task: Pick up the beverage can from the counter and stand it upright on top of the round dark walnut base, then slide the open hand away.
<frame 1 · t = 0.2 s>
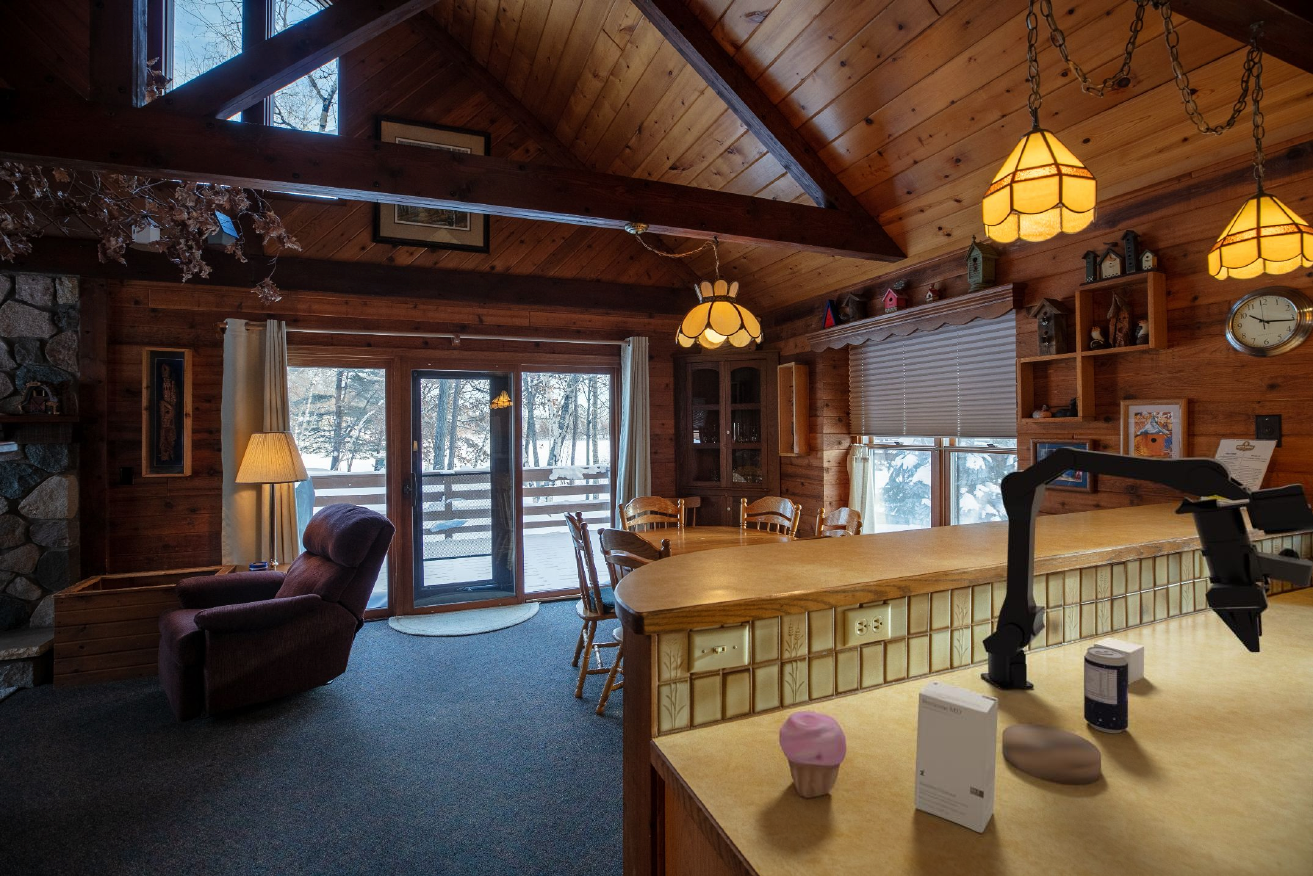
hand: (1256, 643, 93), 15 cm above the counter, tool pointing down, fingers open, 9 cm apart
walnut base: (1049, 760, 90), on the counter
skincare box: (956, 812, 79), on the counter
cupcake: (813, 790, 84), on the counter
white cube: (1118, 676, 120), on the counter
beverage can: (1105, 728, 100), on the counter
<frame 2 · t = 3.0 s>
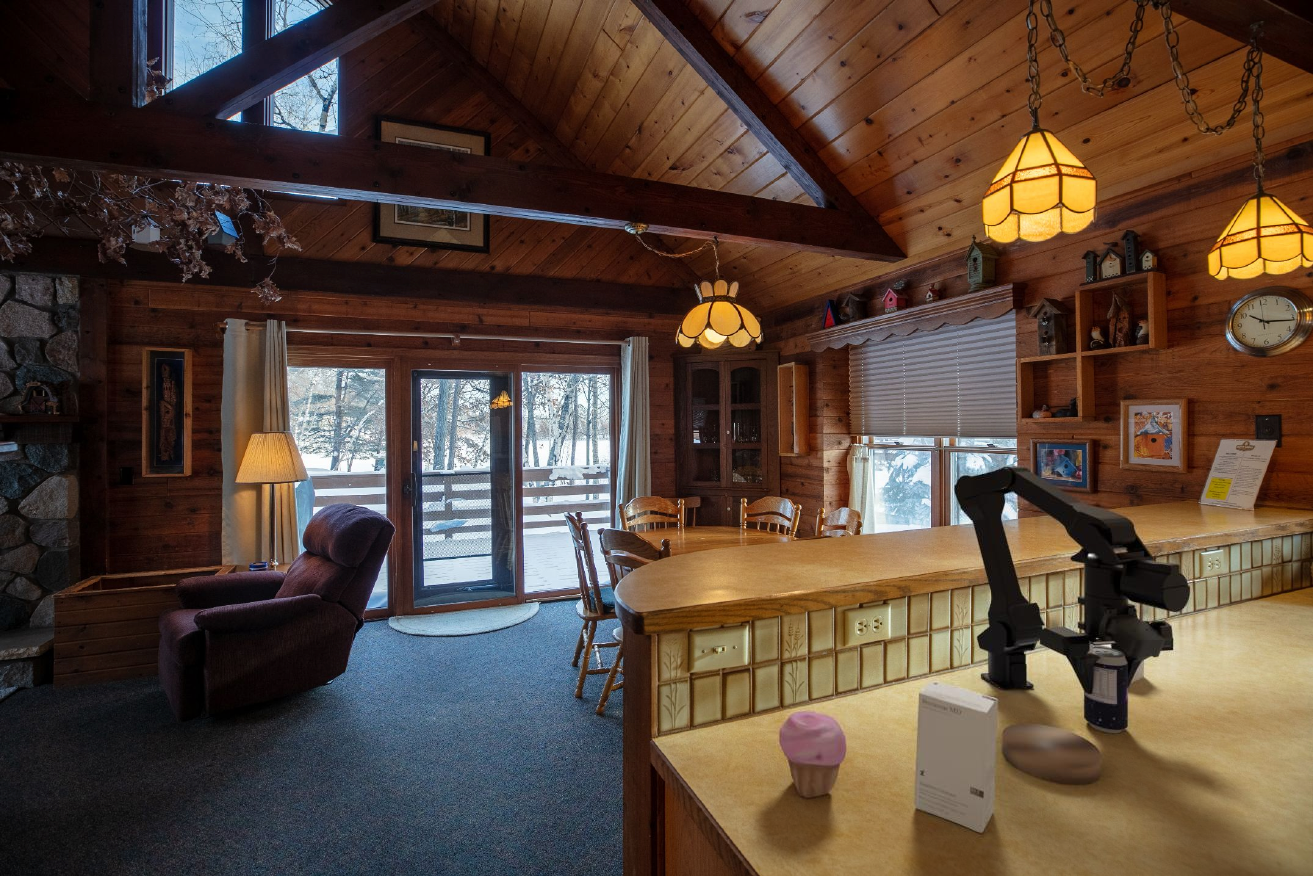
hand: (1105, 692, 100), 6 cm above the counter, tool pointing down, fingers closed on beverage can, 6 cm apart
beverage can: (1105, 728, 100), on the counter, touching gripper
everything else where it was.
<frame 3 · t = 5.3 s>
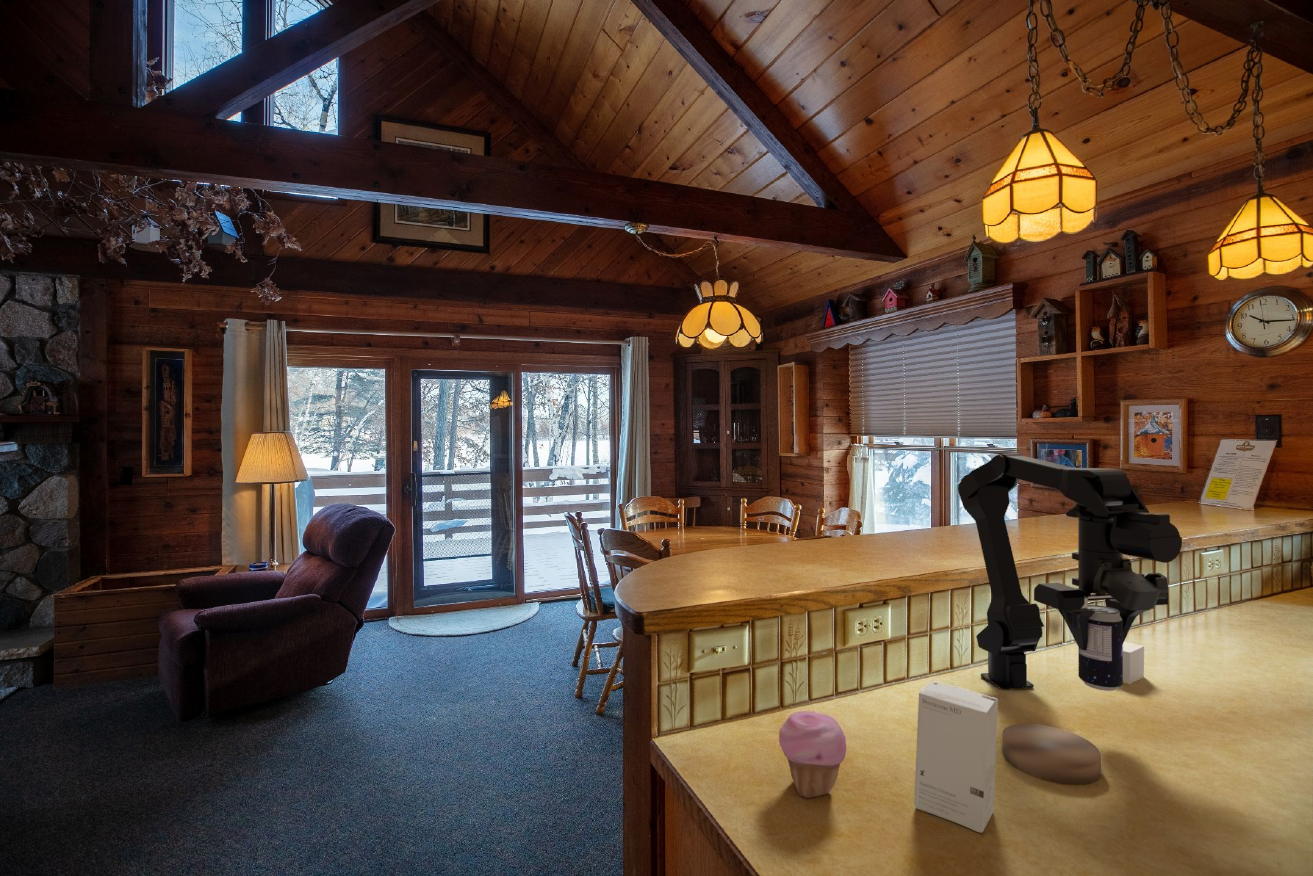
hand: (1100, 648, 99), 13 cm above the counter, tool pointing down, fingers closed on beverage can, 6 cm apart
beverage can: (1100, 686, 99), point 7 cm above the counter, touching gripper
everything else where it was.
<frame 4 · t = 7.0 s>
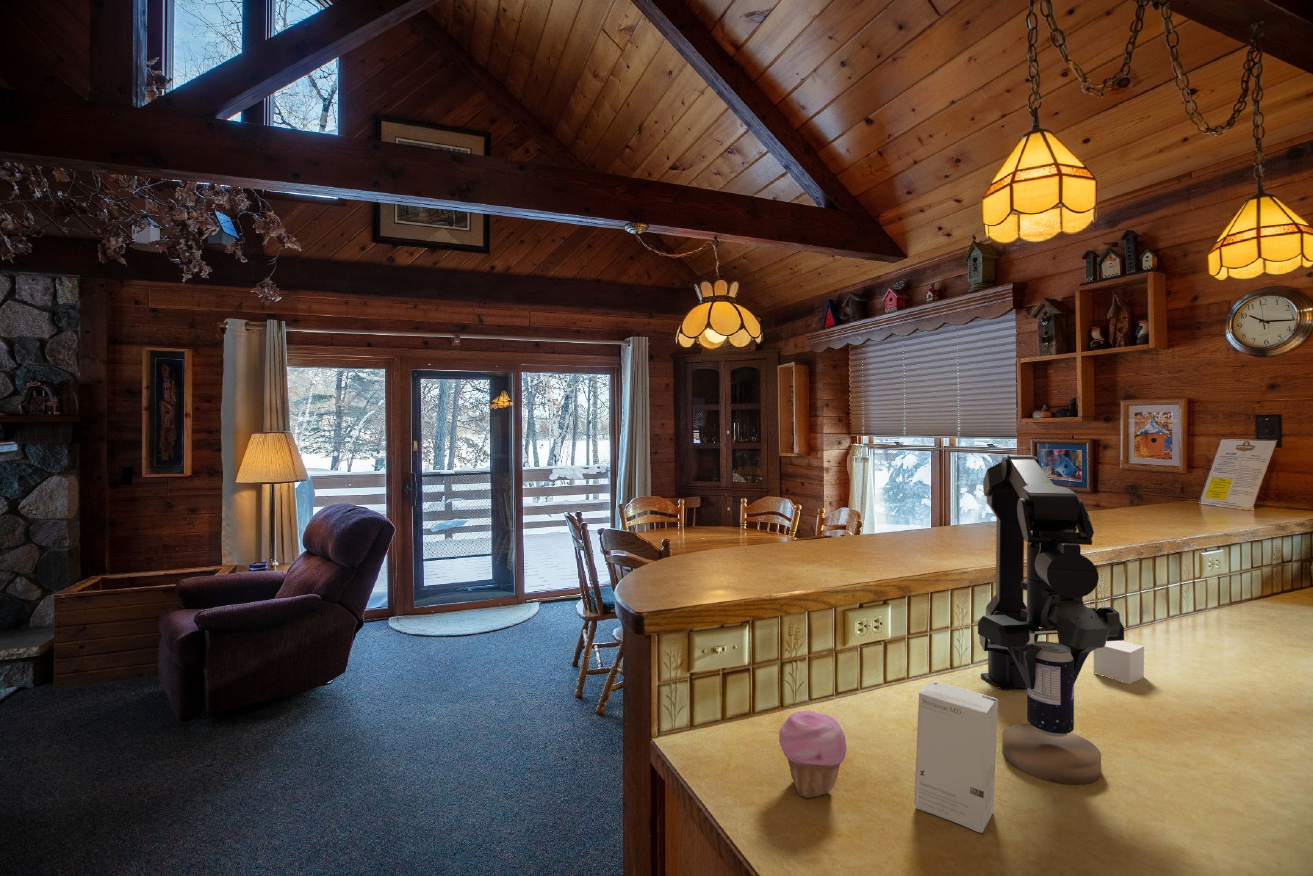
hand: (1049, 687, 90), 11 cm above the counter, tool pointing down, fingers closed on beverage can, 6 cm apart
beverage can: (1050, 731, 90), point 4 cm above the counter, touching gripper
everything else where it was.
when the fingers open (9 cm above the counter, at t = 8.1 s): beverage can stays where it is, resting on walnut base.
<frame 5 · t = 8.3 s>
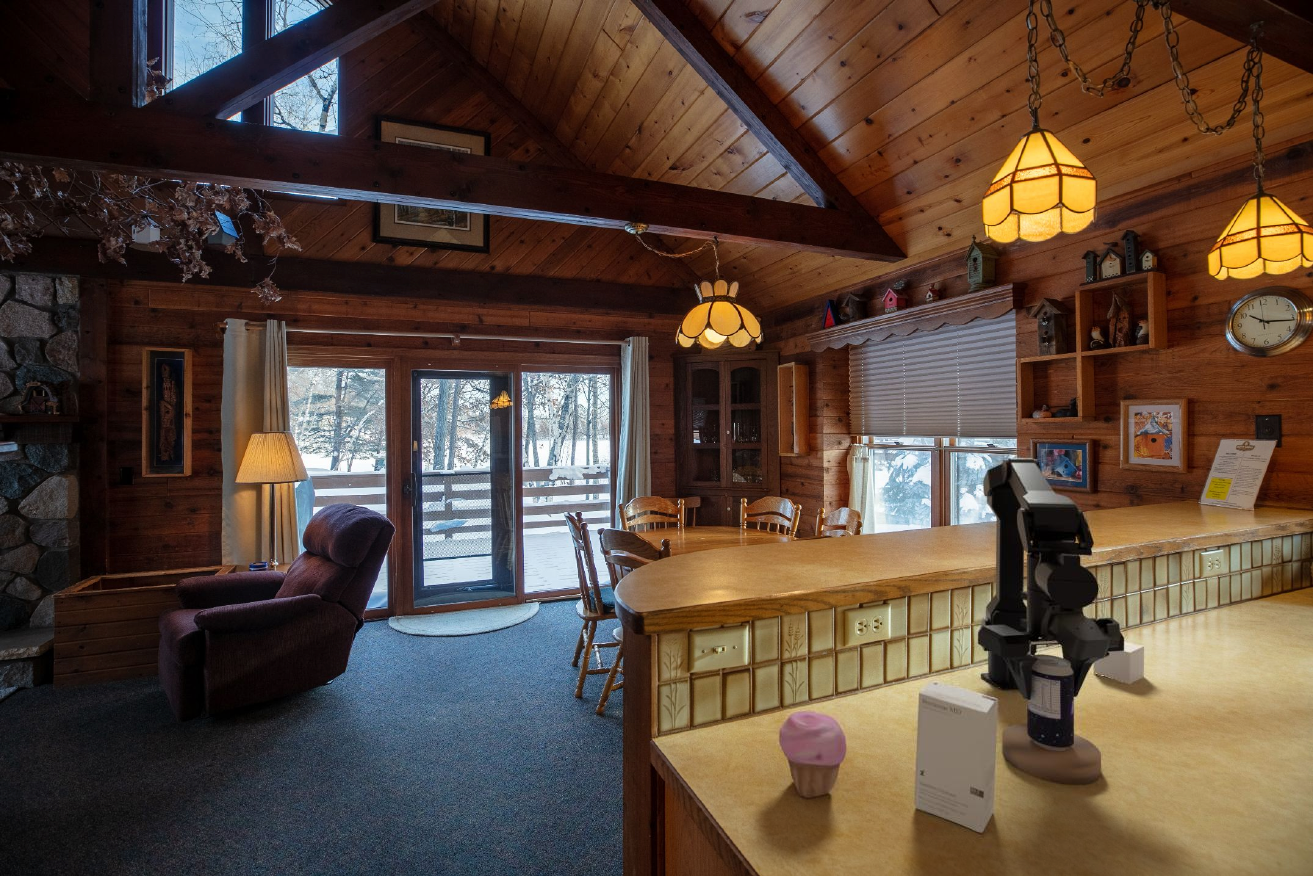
hand: (1049, 697, 90), 9 cm above the counter, tool pointing down, fingers open, 7 cm apart
beverage can: (1050, 745, 90), point 2 cm above the counter, touching walnut base
everything else where it was.
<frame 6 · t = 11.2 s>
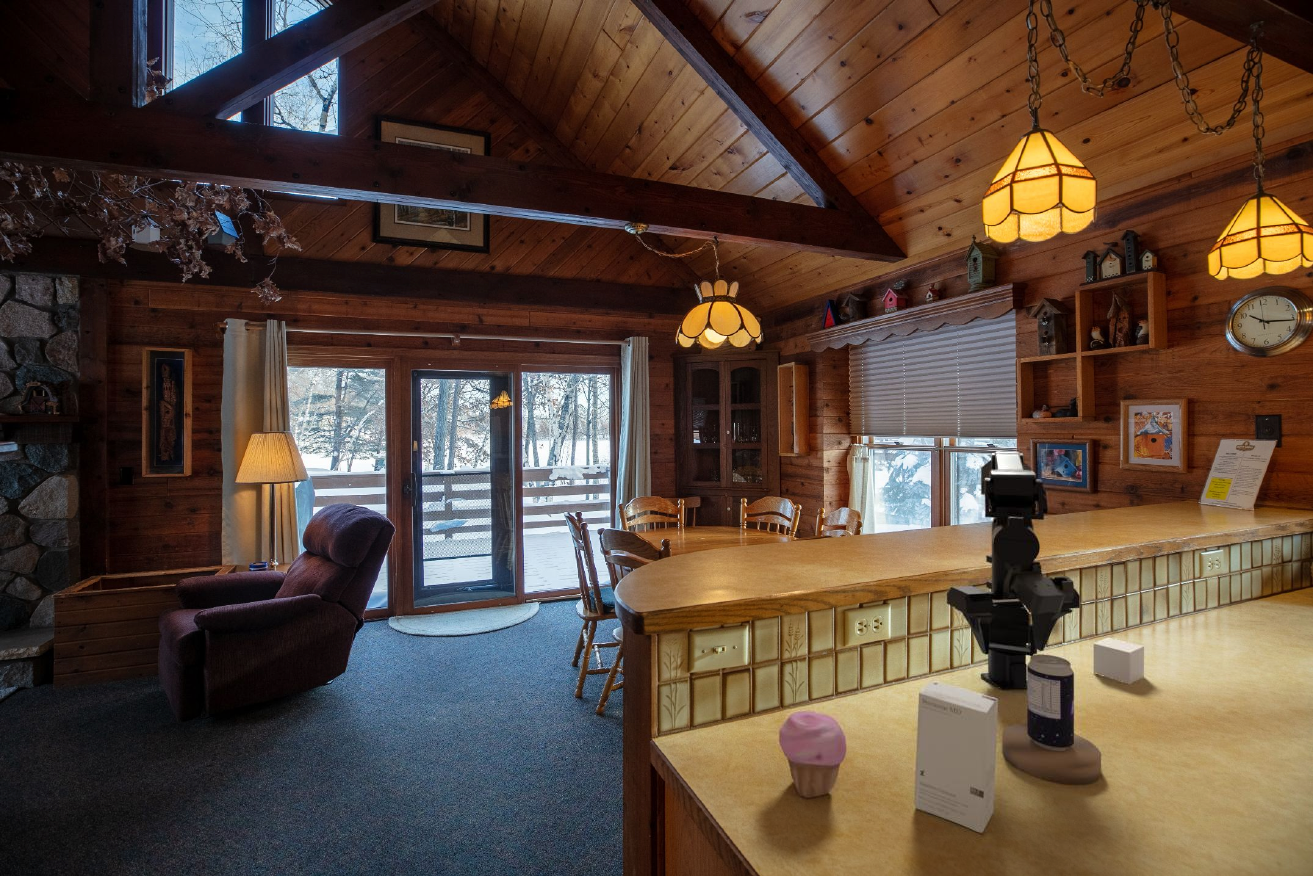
hand: (1012, 652, 98), 13 cm above the counter, tool pointing down, fingers open, 9 cm apart
nothing on the counter moved.
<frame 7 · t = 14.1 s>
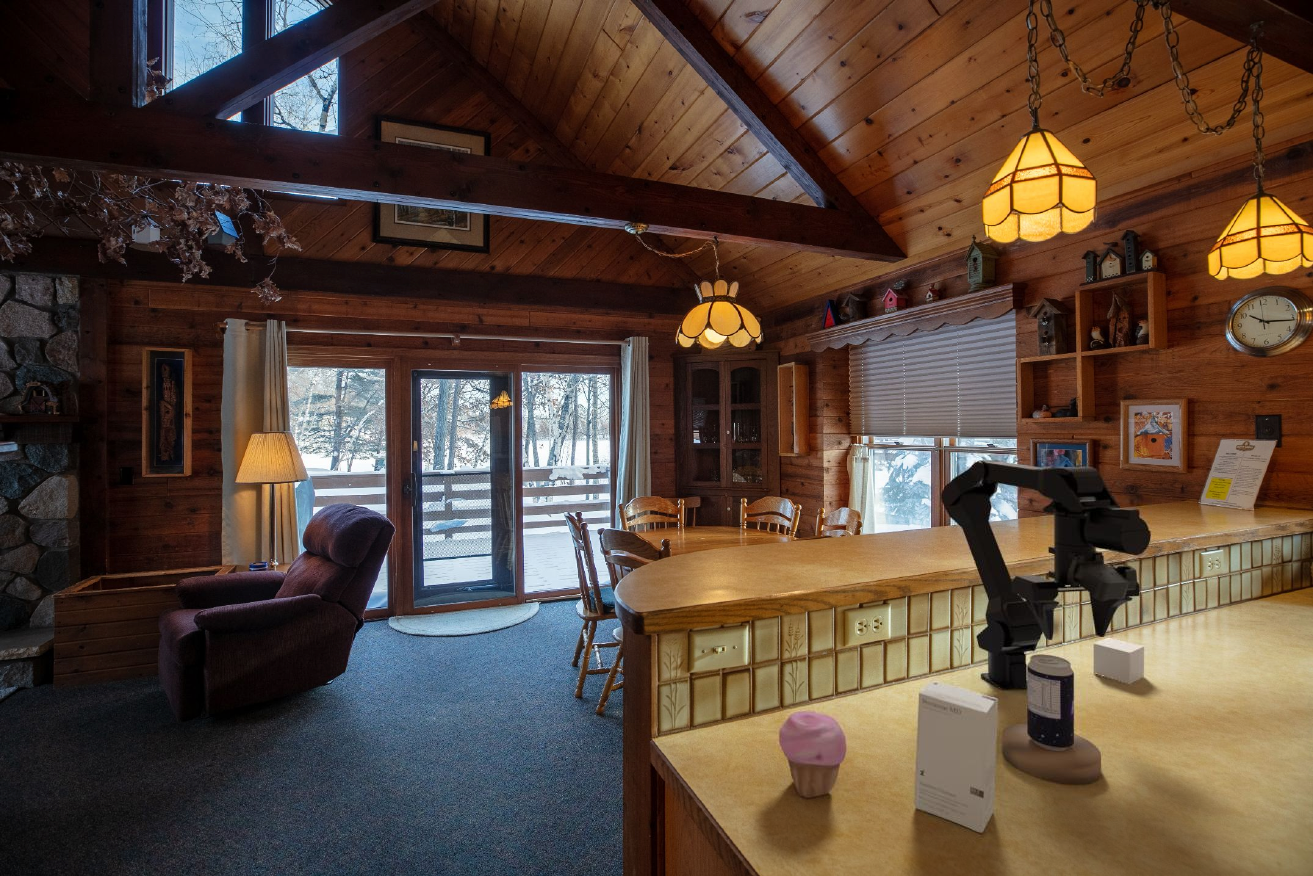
hand: (1074, 637, 103), 13 cm above the counter, tool pointing down, fingers open, 9 cm apart
nothing on the counter moved.
at the end: beverage can 0.0 cm off-centre on the walnut base, point 2.3 cm above the walnut base's base; beverage can tilted 0°; the gripper is holding nothing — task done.
